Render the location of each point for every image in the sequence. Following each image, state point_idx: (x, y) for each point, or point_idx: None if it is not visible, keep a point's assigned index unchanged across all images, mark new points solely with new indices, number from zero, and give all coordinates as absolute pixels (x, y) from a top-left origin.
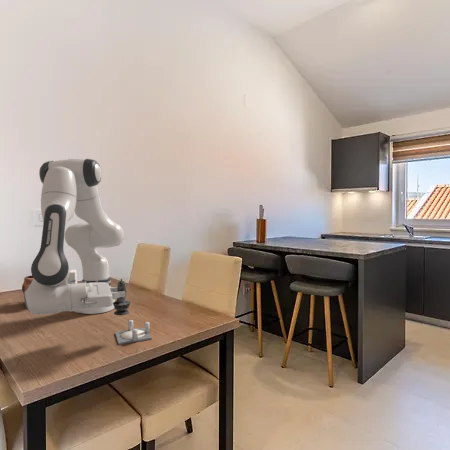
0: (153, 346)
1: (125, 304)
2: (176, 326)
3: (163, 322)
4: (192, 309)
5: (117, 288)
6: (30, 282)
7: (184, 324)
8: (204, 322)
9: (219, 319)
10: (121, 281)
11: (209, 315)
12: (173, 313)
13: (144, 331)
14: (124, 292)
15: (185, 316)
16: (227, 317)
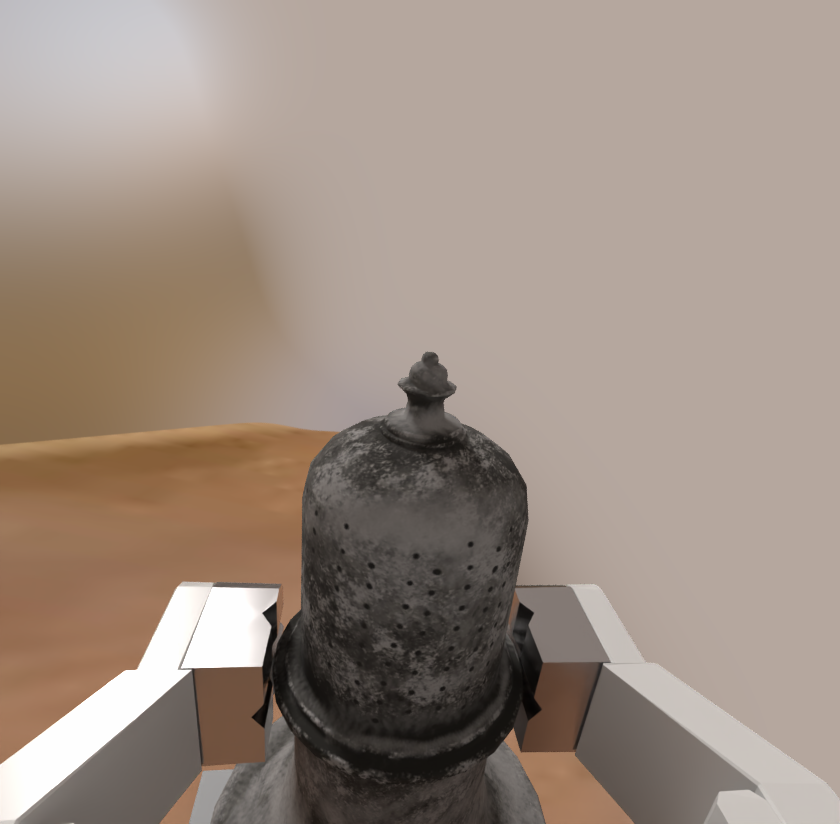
0: None
1: (519, 761)
2: (293, 590)
3: None
4: (78, 484)
5: (439, 663)
6: None
7: (287, 555)
8: None
9: (313, 455)
10: (461, 427)
11: (236, 463)
12: (37, 559)
13: None
14: (595, 600)
15: (160, 527)
16: (307, 437)
